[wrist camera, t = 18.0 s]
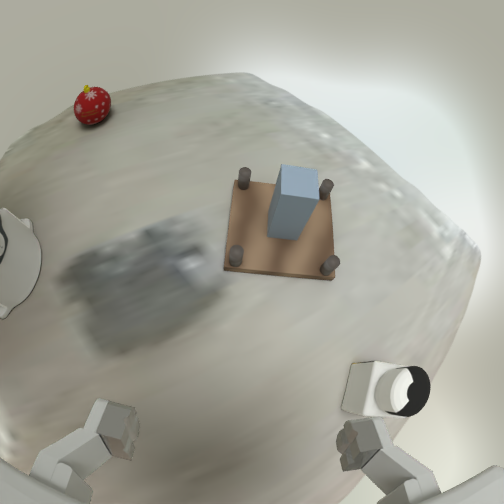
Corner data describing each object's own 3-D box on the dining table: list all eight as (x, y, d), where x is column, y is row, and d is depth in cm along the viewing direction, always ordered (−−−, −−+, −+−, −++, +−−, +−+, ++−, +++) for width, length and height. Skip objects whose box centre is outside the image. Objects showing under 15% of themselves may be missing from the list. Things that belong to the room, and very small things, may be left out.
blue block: (267, 237, 41) (281, 194, 31) (268, 210, 43) (281, 164, 33) (297, 240, 42) (319, 199, 32) (296, 214, 43) (317, 169, 33)
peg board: (223, 270, 40) (224, 257, 36) (234, 185, 46) (235, 165, 42) (331, 280, 41) (344, 269, 37) (327, 197, 47) (336, 180, 43)
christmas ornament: (75, 134, 49) (60, 101, 40) (88, 109, 52) (77, 78, 43) (107, 130, 49) (94, 95, 40) (119, 106, 53) (110, 72, 44)
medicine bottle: (390, 369, 36) (441, 363, 25) (380, 413, 34) (430, 422, 23) (351, 362, 37) (396, 357, 26) (339, 409, 34) (383, 421, 23)
